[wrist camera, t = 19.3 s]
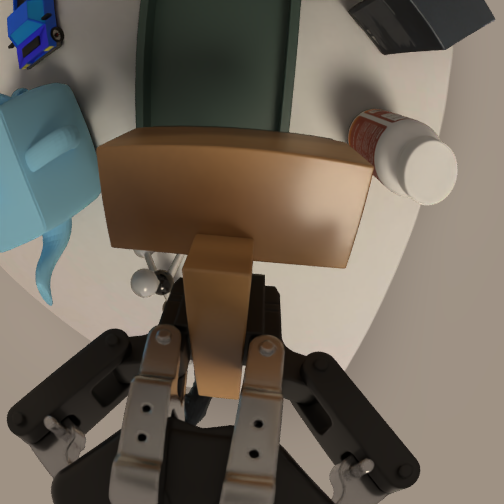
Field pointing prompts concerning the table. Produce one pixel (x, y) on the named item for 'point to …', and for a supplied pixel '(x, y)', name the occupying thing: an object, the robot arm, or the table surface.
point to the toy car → (33, 31)
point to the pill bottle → (405, 155)
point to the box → (420, 23)
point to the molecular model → (154, 277)
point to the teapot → (44, 172)
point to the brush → (230, 218)
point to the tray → (216, 63)
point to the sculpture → (195, 405)
